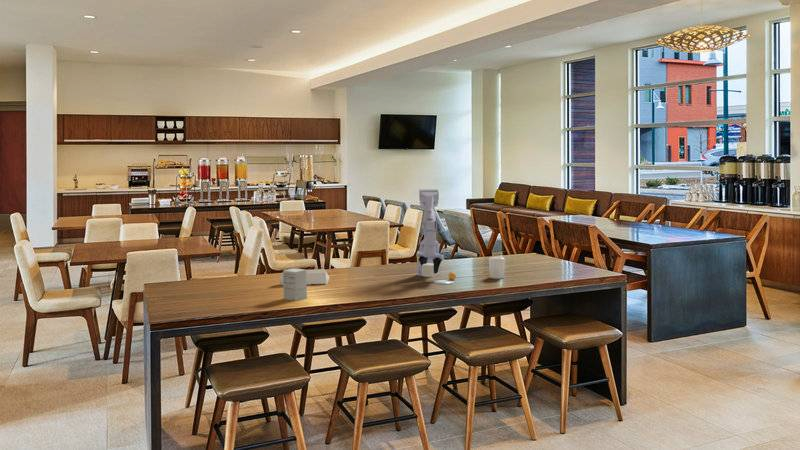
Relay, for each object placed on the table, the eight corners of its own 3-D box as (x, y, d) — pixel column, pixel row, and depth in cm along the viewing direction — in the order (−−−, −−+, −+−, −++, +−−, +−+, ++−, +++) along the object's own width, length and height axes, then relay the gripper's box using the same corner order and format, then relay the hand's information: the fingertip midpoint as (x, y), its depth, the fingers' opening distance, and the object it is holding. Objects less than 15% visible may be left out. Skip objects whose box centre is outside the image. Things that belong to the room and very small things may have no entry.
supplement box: (294, 296, 318) (294, 267, 317) (307, 298, 314) (306, 269, 313) (283, 299, 312) (282, 270, 311) (295, 301, 308) (295, 271, 307)
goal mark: (429, 283, 346) (429, 282, 346) (440, 279, 355) (440, 279, 355) (447, 285, 341) (447, 284, 341) (457, 281, 349) (457, 281, 349)
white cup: (504, 279, 355) (504, 259, 354) (488, 278, 357) (488, 258, 356) (505, 276, 363) (505, 256, 362) (489, 276, 364) (489, 256, 363)
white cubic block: (421, 276, 350) (421, 264, 349) (428, 274, 355) (428, 262, 354) (432, 277, 347) (432, 265, 346) (438, 275, 351) (438, 263, 351)
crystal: (328, 273, 354) (278, 275, 349) (329, 268, 348) (279, 270, 343) (329, 287, 351) (279, 290, 346) (330, 282, 345) (279, 285, 340)
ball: (446, 280, 354) (446, 272, 353) (450, 278, 357) (450, 271, 357) (453, 280, 352) (453, 273, 351) (457, 279, 355) (457, 271, 355)
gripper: (413, 244, 350) (413, 272, 351) (438, 247, 342) (438, 275, 343) (420, 243, 355) (420, 270, 357) (446, 245, 347) (446, 272, 349)
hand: (430, 272), depth 351 cm, fingers closed on white cubic block, 6 cm apart
